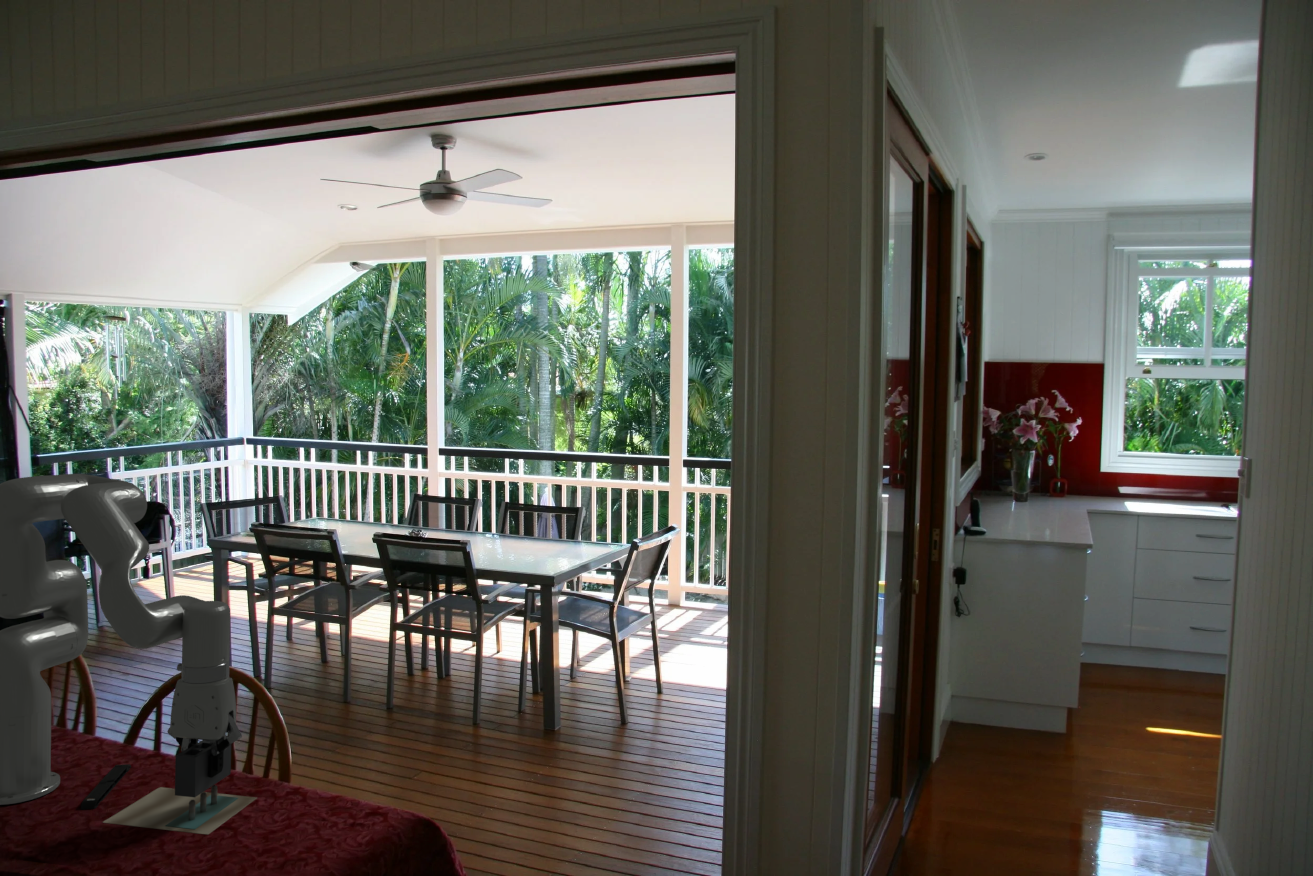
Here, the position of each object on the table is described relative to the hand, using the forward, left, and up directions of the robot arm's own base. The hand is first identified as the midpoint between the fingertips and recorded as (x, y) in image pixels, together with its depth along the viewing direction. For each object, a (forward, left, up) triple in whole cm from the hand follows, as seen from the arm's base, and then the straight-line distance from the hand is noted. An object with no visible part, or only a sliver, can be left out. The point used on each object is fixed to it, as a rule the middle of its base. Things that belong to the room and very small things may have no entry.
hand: (203, 772), depth 153 cm
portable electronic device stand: (-23, +5, -9) cm, 26 cm away
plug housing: (0, 0, -2) cm, 2 cm away
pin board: (-4, 0, -9) cm, 10 cm away
